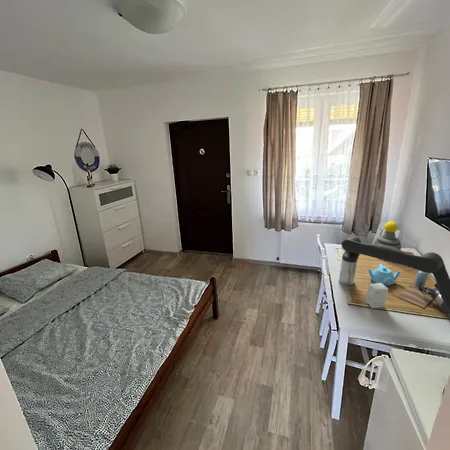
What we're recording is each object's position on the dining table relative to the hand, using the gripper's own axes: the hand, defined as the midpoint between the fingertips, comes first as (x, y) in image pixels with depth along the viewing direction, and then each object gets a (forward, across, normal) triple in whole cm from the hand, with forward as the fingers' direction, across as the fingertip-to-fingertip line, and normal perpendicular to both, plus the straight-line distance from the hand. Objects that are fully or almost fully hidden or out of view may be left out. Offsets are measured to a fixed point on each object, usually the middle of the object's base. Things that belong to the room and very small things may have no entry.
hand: (427, 284), depth 157 cm
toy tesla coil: (+53, +4, +7) cm, 54 cm away
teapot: (+11, +21, +7) cm, 25 cm away
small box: (-18, +35, +7) cm, 40 cm away
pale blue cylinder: (+7, 0, +6) cm, 10 cm away
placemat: (-5, +7, +6) cm, 11 cm away
